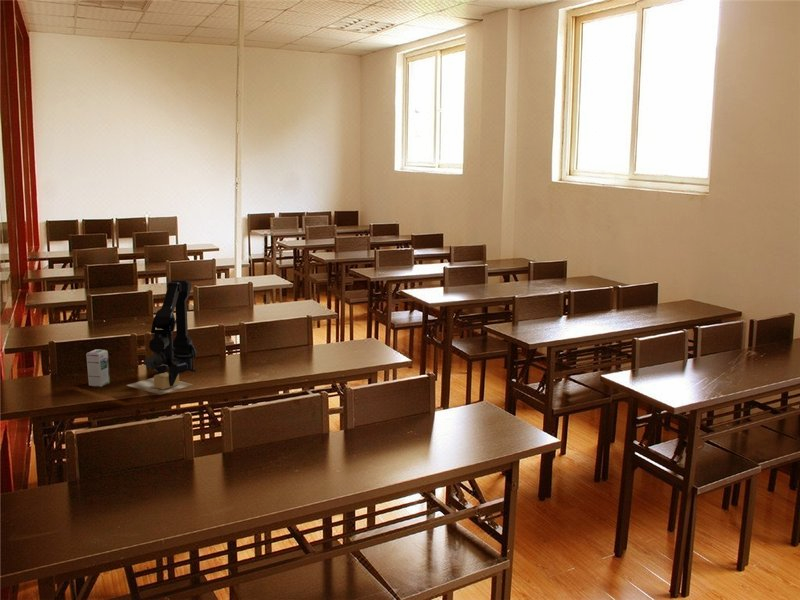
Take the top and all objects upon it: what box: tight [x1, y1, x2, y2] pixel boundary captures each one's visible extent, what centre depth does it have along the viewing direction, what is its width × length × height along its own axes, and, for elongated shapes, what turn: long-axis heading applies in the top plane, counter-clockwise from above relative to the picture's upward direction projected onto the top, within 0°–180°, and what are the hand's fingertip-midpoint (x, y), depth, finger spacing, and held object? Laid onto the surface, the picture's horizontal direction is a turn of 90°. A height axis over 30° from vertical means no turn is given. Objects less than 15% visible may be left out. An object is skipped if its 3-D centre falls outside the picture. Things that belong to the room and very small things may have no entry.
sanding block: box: [153, 372, 180, 390], centre depth 279 cm, size 8×5×5 cm, turn 147°
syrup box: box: [85, 349, 111, 387], centre depth 280 cm, size 6×6×14 cm
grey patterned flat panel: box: [126, 377, 194, 396], centre depth 282 cm, size 16×20×1 cm
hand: (166, 384), depth 279 cm, fingers closed on sanding block, 5 cm apart
